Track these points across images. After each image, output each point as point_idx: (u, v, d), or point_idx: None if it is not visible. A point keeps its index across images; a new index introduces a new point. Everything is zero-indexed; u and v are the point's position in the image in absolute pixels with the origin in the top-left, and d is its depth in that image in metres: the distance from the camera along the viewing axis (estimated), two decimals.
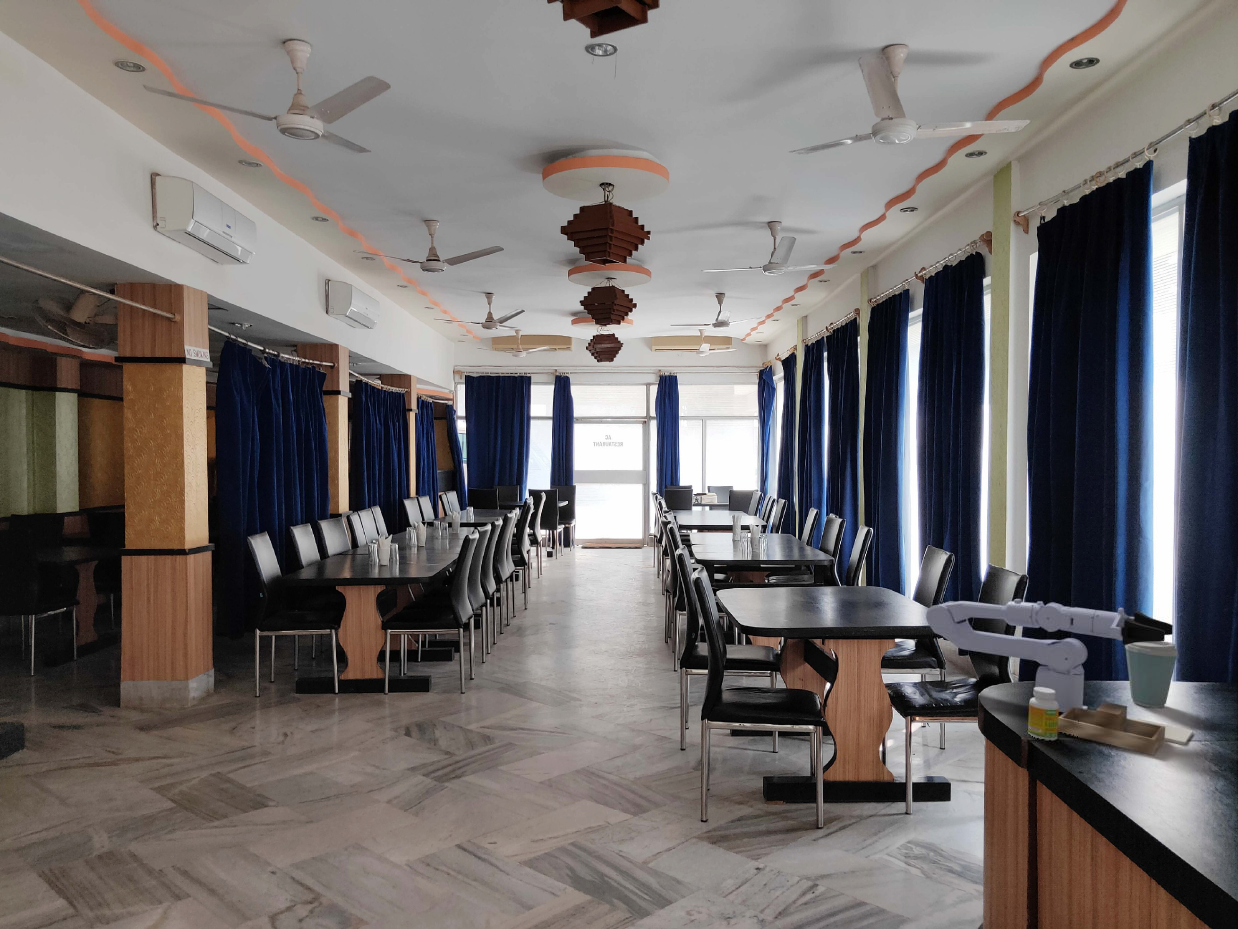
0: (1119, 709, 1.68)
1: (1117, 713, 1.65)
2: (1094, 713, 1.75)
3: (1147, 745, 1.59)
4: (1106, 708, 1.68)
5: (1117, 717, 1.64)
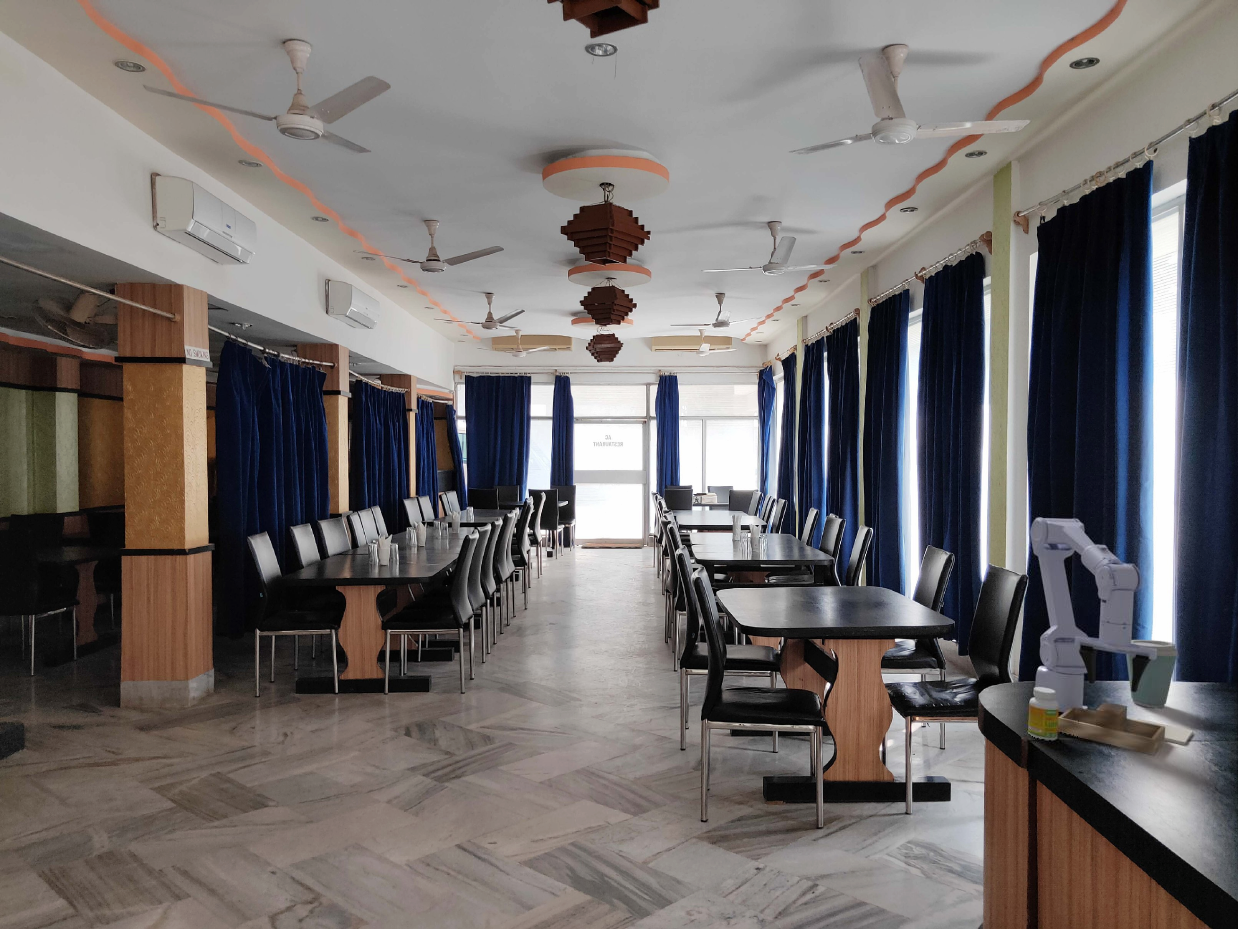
0: (1119, 709, 1.68)
1: (1117, 713, 1.65)
2: (1094, 713, 1.75)
3: (1147, 745, 1.59)
4: (1106, 708, 1.68)
5: (1117, 717, 1.64)
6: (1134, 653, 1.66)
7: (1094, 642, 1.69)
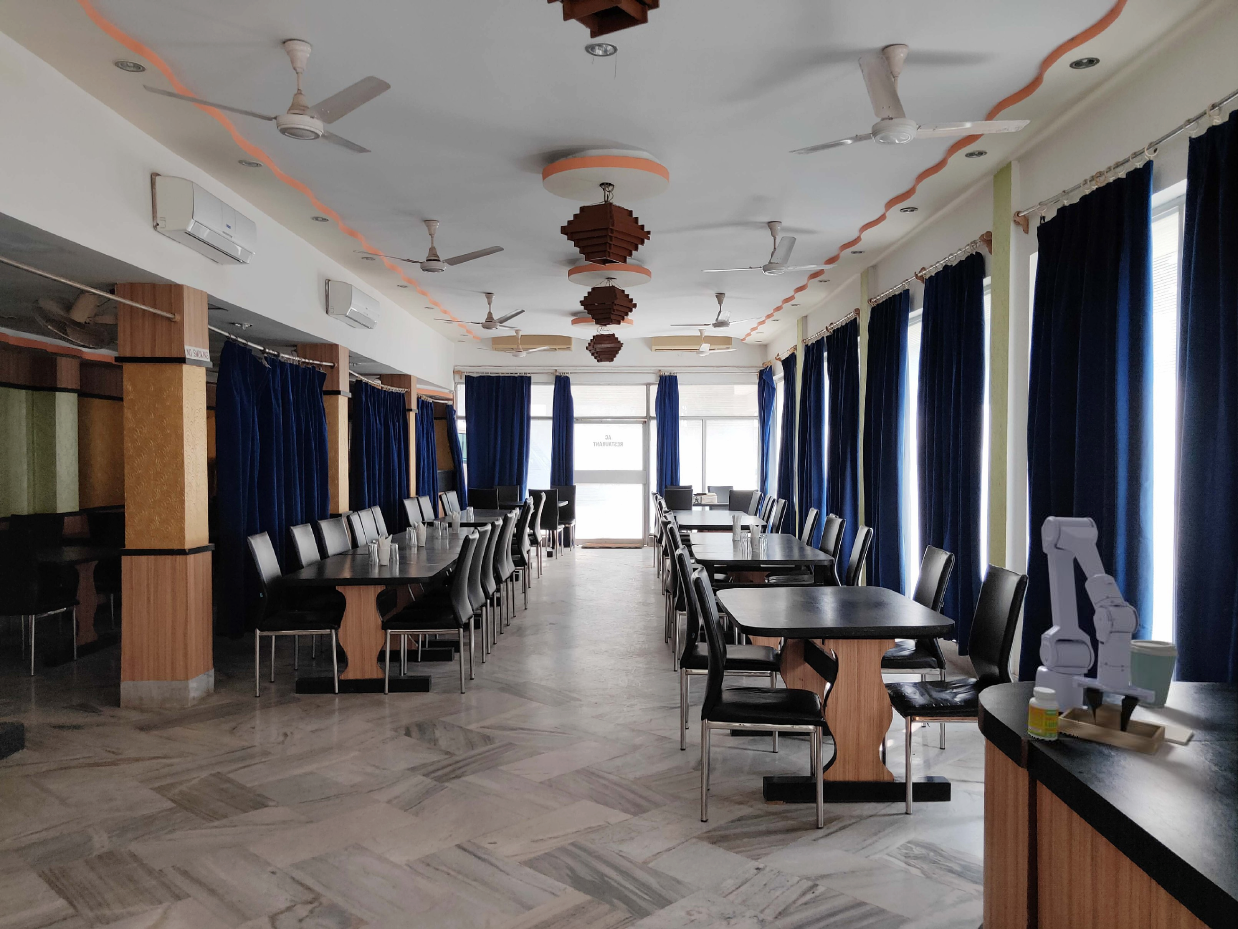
0: (1119, 709, 1.68)
1: (1117, 713, 1.65)
2: None
3: (1147, 745, 1.59)
4: (1106, 708, 1.68)
5: (1117, 717, 1.64)
6: (1132, 695, 1.66)
7: (1092, 683, 1.69)
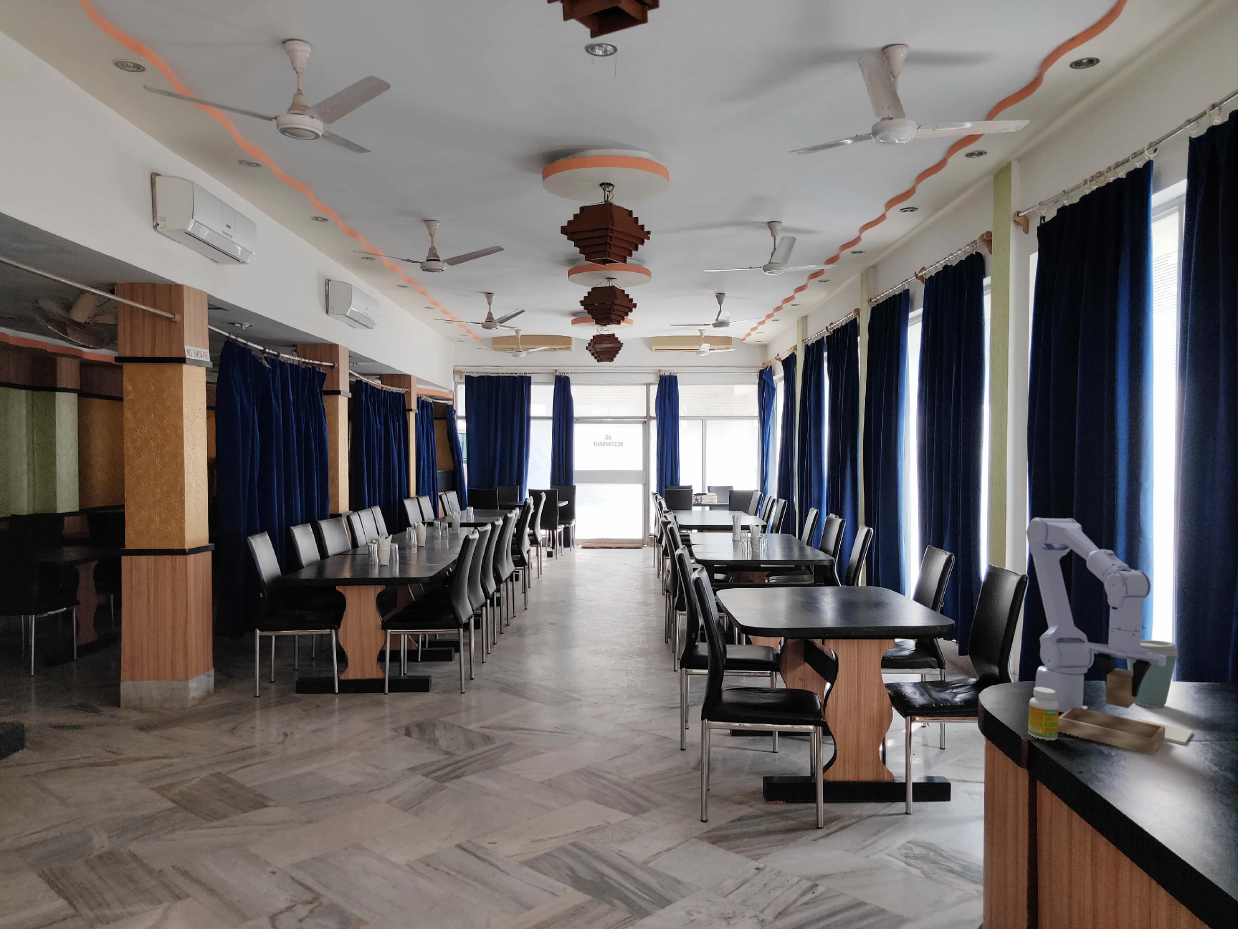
0: (1130, 674, 1.68)
1: (1128, 678, 1.65)
2: (1094, 713, 1.75)
3: (1147, 745, 1.59)
4: (1117, 673, 1.68)
5: (1128, 681, 1.65)
6: (1143, 660, 1.66)
7: (1103, 648, 1.70)
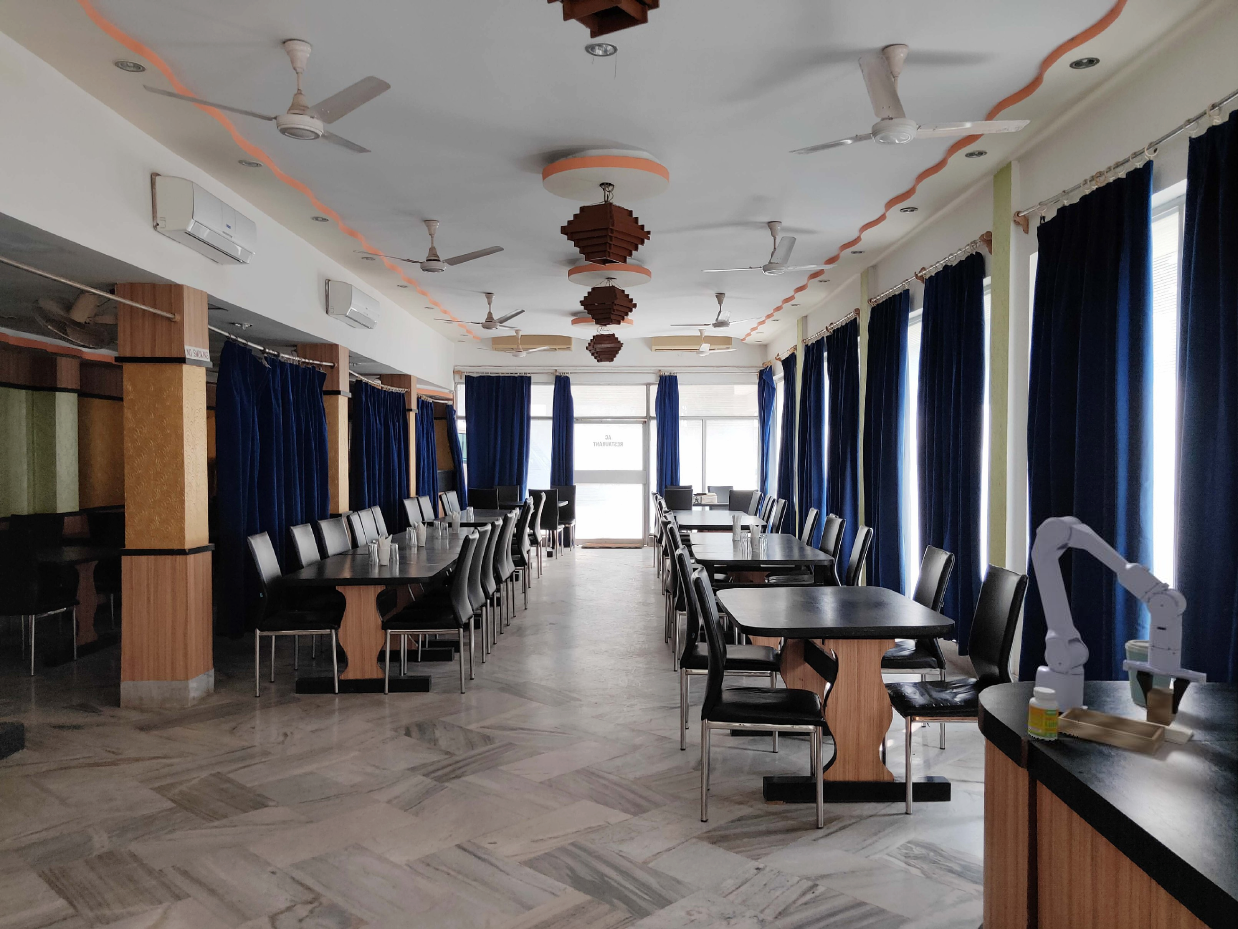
0: (1170, 692, 1.71)
1: (1169, 696, 1.68)
2: (1094, 713, 1.75)
3: (1147, 745, 1.59)
4: (1157, 691, 1.71)
5: (1169, 700, 1.67)
6: (1183, 678, 1.69)
7: (1143, 666, 1.72)
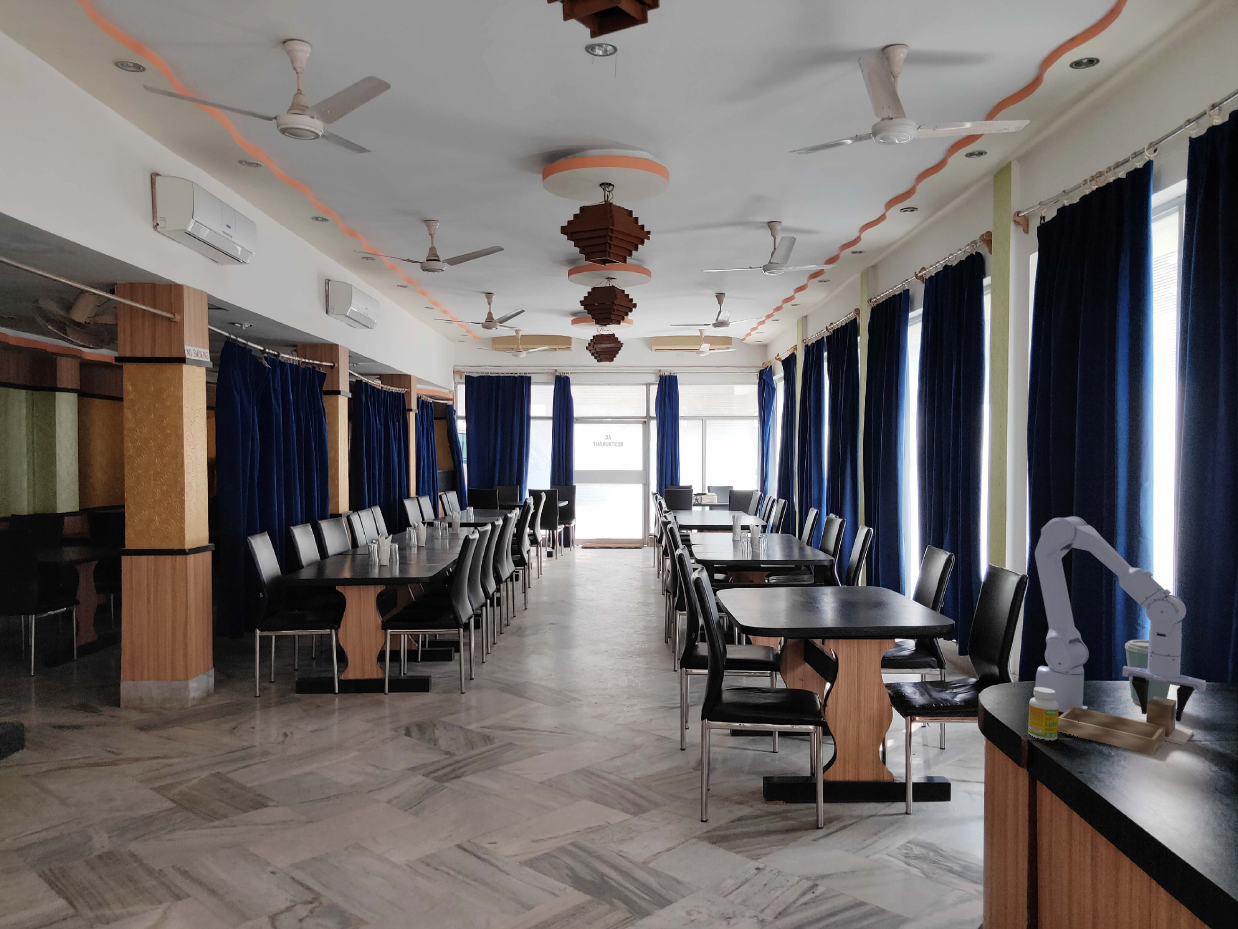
0: (1169, 703, 1.71)
1: (1168, 707, 1.68)
2: (1094, 713, 1.75)
3: (1147, 745, 1.59)
4: (1156, 702, 1.71)
5: (1168, 711, 1.67)
6: (1183, 684, 1.69)
7: (1143, 673, 1.72)
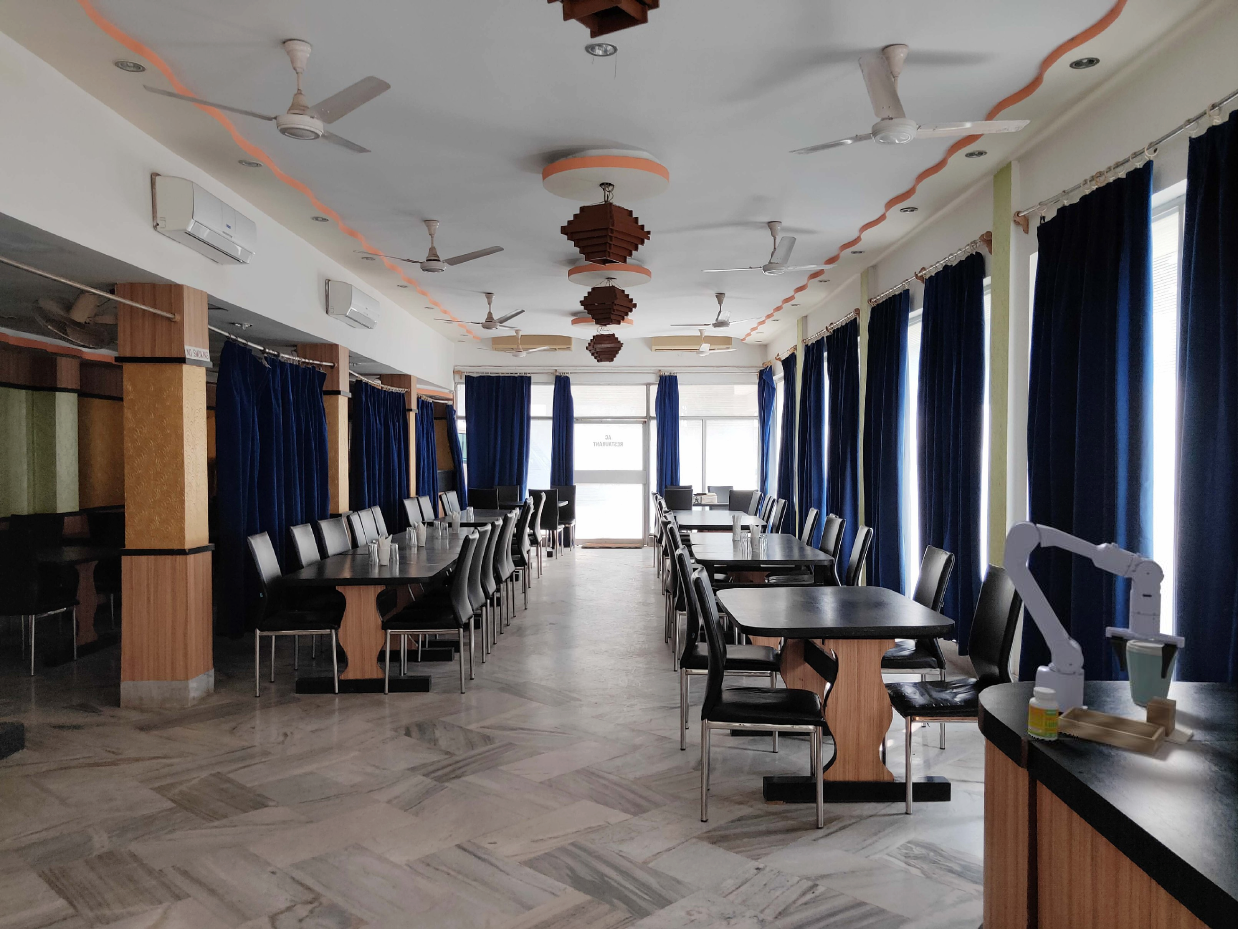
0: (1169, 703, 1.71)
1: (1168, 707, 1.68)
2: (1094, 713, 1.75)
3: (1147, 745, 1.59)
4: (1156, 702, 1.71)
5: (1168, 711, 1.67)
6: (1163, 642, 1.76)
7: (1125, 632, 1.80)
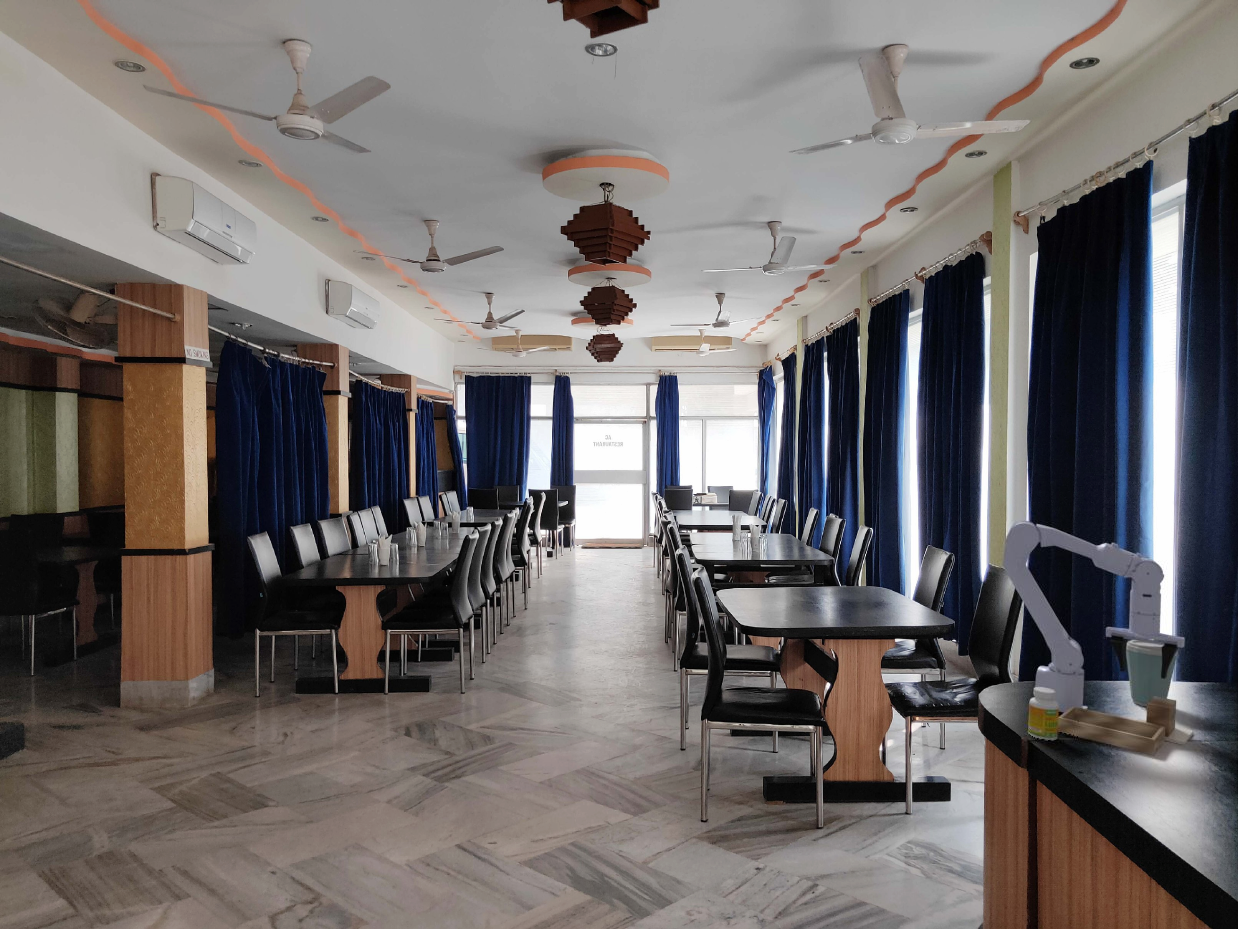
0: (1169, 703, 1.71)
1: (1168, 707, 1.68)
2: (1094, 713, 1.75)
3: (1147, 745, 1.59)
4: (1156, 702, 1.71)
5: (1168, 711, 1.67)
6: (1163, 642, 1.76)
7: (1125, 632, 1.80)
